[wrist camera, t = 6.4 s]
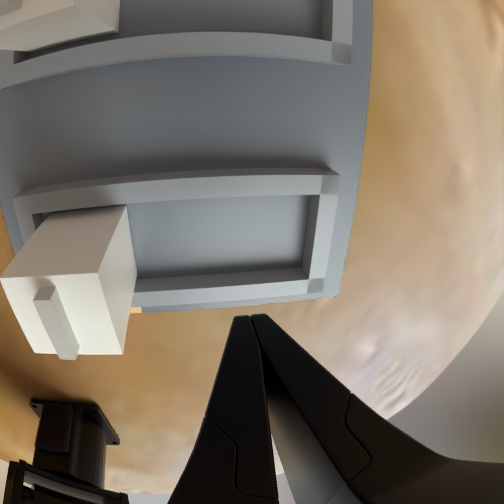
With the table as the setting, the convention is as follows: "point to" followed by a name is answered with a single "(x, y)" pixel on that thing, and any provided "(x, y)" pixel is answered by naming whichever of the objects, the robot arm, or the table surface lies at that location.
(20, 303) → the white rectangular block
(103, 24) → the white block
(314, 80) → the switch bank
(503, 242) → the table surface
